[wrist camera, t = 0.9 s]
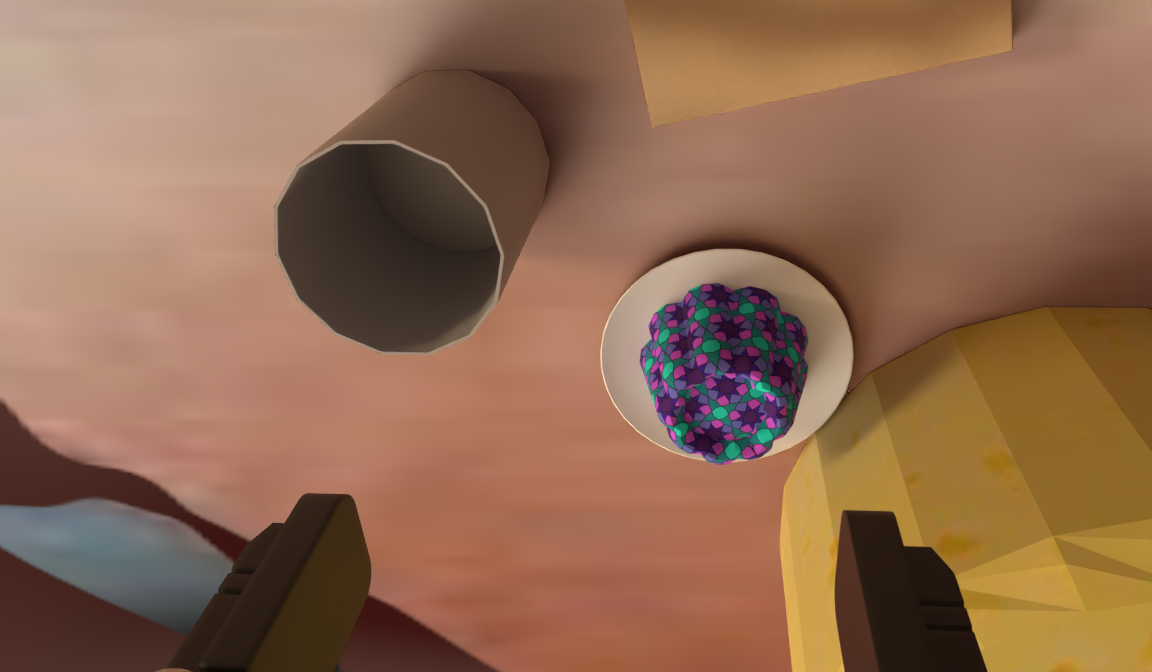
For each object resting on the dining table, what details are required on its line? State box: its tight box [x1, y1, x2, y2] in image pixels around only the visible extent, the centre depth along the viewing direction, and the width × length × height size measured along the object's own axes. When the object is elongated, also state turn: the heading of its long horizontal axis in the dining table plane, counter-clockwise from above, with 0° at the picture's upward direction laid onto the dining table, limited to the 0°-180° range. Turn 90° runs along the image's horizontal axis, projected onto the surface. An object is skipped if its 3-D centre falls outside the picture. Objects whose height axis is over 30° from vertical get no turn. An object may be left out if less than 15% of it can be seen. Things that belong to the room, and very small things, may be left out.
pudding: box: [600, 249, 854, 465], centre depth 40 cm, size 12×12×5 cm
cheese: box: [780, 307, 1152, 672], centre depth 38 cm, size 26×26×15 cm
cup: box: [274, 70, 550, 355], centre depth 35 cm, size 8×8×10 cm
